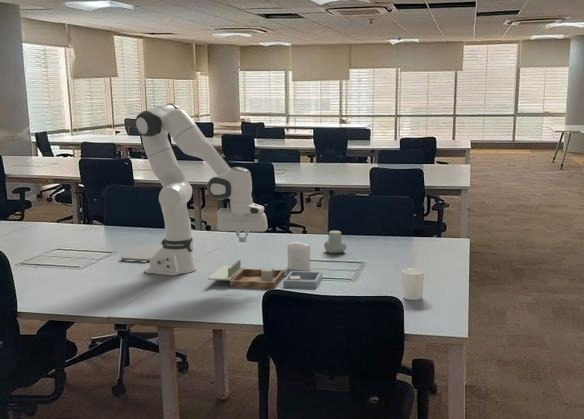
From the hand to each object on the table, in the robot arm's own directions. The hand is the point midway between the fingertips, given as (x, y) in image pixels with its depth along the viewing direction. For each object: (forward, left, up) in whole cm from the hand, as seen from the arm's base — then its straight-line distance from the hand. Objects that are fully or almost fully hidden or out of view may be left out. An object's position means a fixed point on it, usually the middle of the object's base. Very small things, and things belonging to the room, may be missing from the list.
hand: (242, 241), depth 258 cm
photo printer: (+19, +20, -17) cm, 32 cm away
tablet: (-59, +37, -17) cm, 72 cm away
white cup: (+68, -11, -17) cm, 71 cm away
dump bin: (+24, +1, -17) cm, 30 cm away
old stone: (+22, -2, -16) cm, 27 cm away
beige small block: (+10, 0, -16) cm, 19 cm away
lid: (-8, 0, -13) cm, 16 cm away
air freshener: (+30, +53, -17) cm, 63 cm away
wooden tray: (+6, 0, -17) cm, 18 cm away
